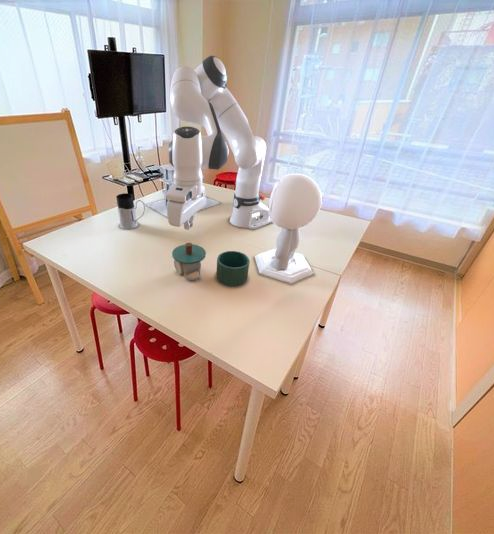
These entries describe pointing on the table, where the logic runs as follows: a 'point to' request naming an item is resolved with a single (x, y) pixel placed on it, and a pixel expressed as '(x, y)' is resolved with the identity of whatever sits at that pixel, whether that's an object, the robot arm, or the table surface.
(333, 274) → the table surface
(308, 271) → the globe table lamp
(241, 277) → the tin
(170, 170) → the file organizer
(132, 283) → the table surface
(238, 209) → the robot arm
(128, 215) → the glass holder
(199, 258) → the lid
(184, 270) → the ceramic mug
